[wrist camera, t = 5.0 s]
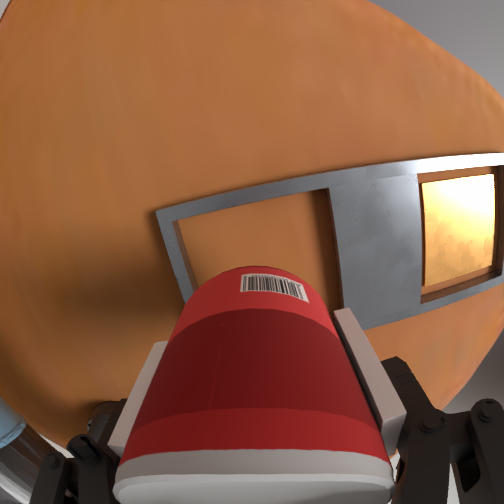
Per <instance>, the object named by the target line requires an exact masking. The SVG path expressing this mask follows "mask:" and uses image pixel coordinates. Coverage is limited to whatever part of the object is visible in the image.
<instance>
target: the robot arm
mask: <svg viewBox="0 0 504 504" xmlns="http://www.w3.org/2000/svg"><path fill="white" fill-rule="evenodd" d="M334 319H335V327H336V329H337V331H338V333H339V336H340V338H341V340H342V342H343V345H344V347H345V349H346V351H347V354H348V356H349V358H350V361H351V363H352V365H353V367H354V370H355V372H356V374H357V377H358V379H359V381H360V384H361V386H362V389H363V391H364V393H365V396H366V398H367V401H368V403H369V406H370V408H371V410H372V413H373V415H374V418H375V420H376V423H377V425H378V428H379V431H380V433H381V436H382V438H383V441H384V444H385V448H386V451H387V454H388V456H391V455H393V454H395V451H396V448H397V449H398V452H399V454H400V459H399V462H398V464H397V467H396V469H397V475H396V481H395V484H396V492H395V495H394V496H393V498H392V501H391V504H447V497H448V486H449V471H450V463H451V465H452V469H453V473H454V478H455V482H456V487H457V492H458V497H459V502H460V504H504V410H503V408H502V406H501V405H500V403H499V402H497V401H496V400H494V399H488V398H487V399H482V400H480V401H478V402H476V403H475V405H474V406H473V407H472V409H471V410H470V411H465V412H460V413H455V414H446V413H444V412H442V411H441V410H439V409H435V408H434V406H433V405H432V404H431V402H430V400H429V399H428V397H427V395H426V394H425V392H424V391H423V389H422V387H421V386H420V384H419V382H418V381H417V380H416V378H415V376H414V374H413V373H412V372H411V370H410V368H409V366H408V365H407V363H406V362H404V361H403V360H401V359H400V358H398V357H397V356H396V357H393V358H390V359H386V360H383V361H380V360H379V359H378V357H377V355H376V353H375V351H374V350H373V348H372V346H371V344H370V342H369V341H368V339H367V337H366V335H365V334H364V332H363V330H362V328H361V327H360V325H359V323H358V321H357V320H356V318H355V316H354V315H353V313H352V311H351V309H350V308H349V307H348V308H344V309H340V310H336V311H334ZM168 342H169V341H162V342H155V344H154V346H153V348H152V350H151V352H150V354H149V356H148V358H147V360H146V362H145V364H144V366H143V368H142V370H141V372H140V374H139V376H138V378H137V380H136V383H135V385H134V387H133V389H132V391H131V393H130V395H129V398H128V399H121V400H120V401H119V402H106V403H102V404H99V405H97V406H96V407H95V408H94V410H93V412H92V414H91V416H90V417H89V419H88V423H87V430H88V433H87V435H86V434H80V435H77V436H75V437H74V438H72V439H71V440H70V441H69V443H68V444H67V448H66V449H67V450H68V451H69V452H70V453H71V454H72V455H73V456H74V457H75V458H66V457H65V456H64V455H63V454H62V453H61V452H58V451H57V450H56V449H55V448H54V447H52V446H51V445H50V444H49V443H48V442H47V441H46V440H44V439H43V438H42V437H41V436H40V435H39V434H38V433H37V432H36V431H35V430H34V429H33V428H32V427H30V426H29V425H28V424H27V423H26V420H25V418H24V417H23V416H22V415H20V414H18V413H16V412H15V411H14V410H13V409H12V408H11V407H10V406H9V405H8V403H7V402H6V401H5V400H4V399H3V398H2V397H1V396H0V504H121V503H120V502H119V501H118V500H117V499H116V498H115V496H114V493H113V488H114V485H115V475H116V472H117V469H118V466H119V463H120V460H121V458H122V455H123V452H124V449H125V445H126V443H127V440H128V437H129V434H130V432H131V429H132V427H133V424H134V422H135V419H136V417H137V414H138V412H139V409H140V407H141V405H142V402H143V400H144V397H145V395H146V393H147V390H148V388H149V385H150V383H151V381H152V378H153V376H154V374H155V371H156V369H157V367H158V365H159V362H160V360H161V358H162V355H163V353H164V351H165V349H166V346H167V344H168Z"/></svg>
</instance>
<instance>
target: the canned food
mask: <svg viewBox="0 0 504 504" xmlns="http://www.w3.org/2000/svg"><path fill="white" fill-rule="evenodd" d="M395 492H396V484H395V482H394V478H393V468H392V465H391V462H390V460H389V457H388V454H387V451H386V448H385V444H384V441H383V438H382V436H381V433H380V431H379V428H378V425H377V423H376V420H375V418H374V415H373V413H372V410H371V408H370V406H369V403H368V401H367V398H366V396H365V393H364V391H363V389H362V386H361V384H360V381H359V379H358V377H357V374H356V372H355V370H354V367H353V365H352V363H351V361H350V358H349V356H348V354H347V351H346V349H345V347H344V345H343V342H342V340H341V338H340V336H339V333H338V331H337V329H336V327H335V325H334V322H333V320H332V318H331V316H330V314H329V312H328V309H327V307H326V305H325V304H324V302H323V300H322V298H321V297H320V295H319V294H318V293H317V292H316V291H315V290H314V289H313V288H312V286H311V285H309V284H308V283H306V282H305V281H303V280H302V279H300V278H299V277H297V276H295V275H293V274H291V273H288V272H286V271H284V270H281V269H277V268H273V267H268V266H246V267H239V268H235V269H232V270H229V271H226V272H223V273H221V274H219V275H217V276H216V277H214V278H212V279H210V280H208V281H207V282H205V283H204V284H203V285H202V286H200V287H199V288H198V289H197V290H196V291H195V292H194V293H193V294H192V296H191V297H190V298H189V300H188V301H187V302H186V304H185V307H184V309H183V311H182V313H181V315H180V317H179V320H178V322H177V324H176V326H175V328H174V331H173V333H172V335H171V337H170V340H169V342H168V344H167V346H166V349H165V351H164V353H163V355H162V358H161V360H160V362H159V365H158V367H157V369H156V371H155V374H154V376H153V378H152V381H151V383H150V385H149V388H148V390H147V393H146V395H145V397H144V400H143V402H142V405H141V407H140V409H139V412H138V414H137V417H136V419H135V422H134V424H133V427H132V429H131V432H130V434H129V437H128V440H127V443H126V445H125V449H124V452H123V455H122V458H121V460H120V463H119V466H118V469H117V472H116V475H115V485H114V488H113V493H114V496H115V498H116V499H117V500H118V501H119V502H120V503H121V504H387V503H388V502H390V500H391V499H392V498H393V496H394V495H395Z"/></svg>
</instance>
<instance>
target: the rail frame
mask: <svg viewBox="0 0 504 504" xmlns="http://www.w3.org/2000/svg"><path fill="white" fill-rule="evenodd" d="M490 165H497V168H498V183H499V234H498V249H497V260H496V269H495V271H493V272H491V273H488V274H486V275H483V276H480V277H477V278H475V279H472V280H469V281H466V282H463V283H461V284H458V285H455V286H452V287H449V288H446V289H443V290H440V291H436V292H433V293H430V294H427V295H424V296H421V277H422V236H421V214H420V201H419V190H418V180H417V173H425V172H433V171H441V170H450V169H459V168H468V167H478V166H490ZM322 188H326V194H327V200H328V206H329V212H330V218H331V225H332V232H333V239H334V246H335V254H336V262H337V270H338V279H339V289H340V299H341V309H344V308H348V307H349V308H350V309H351V311H352V313H353V315H354V316H355V318H356V320H357V321H358V323H359V325H360V327H361V328H362V330H366V329H370V328H374V327H378V326H381V325H385V324H389V323H392V322H396V321H399V320H402V319H406V318H409V317H412V316H415V315H419V314H422V313H425V312H428V311H431V310H434V309H437V308H440V307H443V306H446V305H448V304H451V303H454V302H457V301H459V300H462V299H465V298H467V297H470V296H473V295H475V294H478V293H480V292H483V291H485V290H488V289H490V288H492V287H495V286H497V285H499V284H502V283H504V152H496V153H476V154H460V155H448V156H436V157H426V158H416V159H407V160H399V161H391V162H383V163H376V164H369V165H362V166H355V167H349V168H342V169H336V170H330V171H324V172H319V173H313V174H307V175H302V176H297V177H291V178H286V179H281V180H276V181H271V182H267V183H262V184H257V185H253V186H248V187H243V188H239V189H235V190H230V191H226V192H222V193H218V194H213V195H209V196H205V197H201V198H197V199H193V200H189V201H186V202H182V203H178V204H174V205H171V206H167V207H163V208H160V209H158V210H157V211H155V212H156V216H157V219H158V222H159V226H160V229H161V233H162V236H163V239H164V242H165V246H166V249H167V252H168V255H169V258H170V261H171V264H172V267H173V271H174V274H175V276H176V279H177V282H178V285H179V288H180V291H181V294H182V297H183V300H184V302H185V304H186V302H187V301H188V300H189V298H190V297H191V296H192V294H193V293H194V292H195V291H196V290H197V289H198V287H197V284H196V281H195V278H194V275H193V271H192V268H191V265H190V262H189V259H188V255H187V252H186V249H185V245H184V242H183V239H182V235H181V232H180V228H179V225H178V221H177V220H179V219H183V218H187V217H191V216H195V215H199V214H204V213H208V212H212V211H216V210H221V209H225V208H229V207H234V206H238V205H243V204H247V203H252V202H257V201H261V200H266V199H271V198H276V197H281V196H286V195H291V194H296V193H301V192H306V191H312V190H317V189H322ZM421 189H422V201H423V215H424V242H425V266H424V286H425V287H426V286H429V285H433V284H436V283H439V282H442V281H445V280H449V279H452V278H455V277H458V276H461V275H464V274H467V273H470V272H473V271H476V270H478V269H481V268H484V267H487V266H490V265H492V256H493V242H494V216H495V204H494V178H493V174H489V175H480V176H472V177H464V178H456V179H449V180H442V181H435V182H428V183H421ZM332 320H333V322H334V325H335V319H332Z"/></svg>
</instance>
